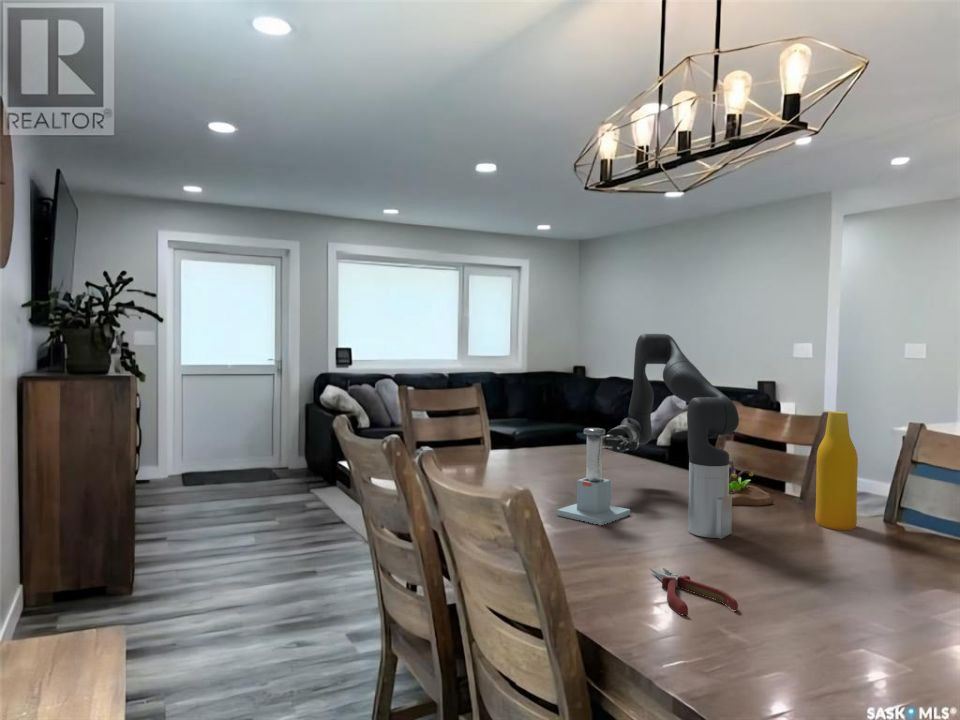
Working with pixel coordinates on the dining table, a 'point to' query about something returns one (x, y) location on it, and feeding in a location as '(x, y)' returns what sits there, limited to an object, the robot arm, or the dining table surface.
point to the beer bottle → (836, 476)
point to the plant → (746, 490)
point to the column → (594, 454)
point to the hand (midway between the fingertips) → (606, 446)
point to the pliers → (672, 581)
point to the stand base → (593, 504)
